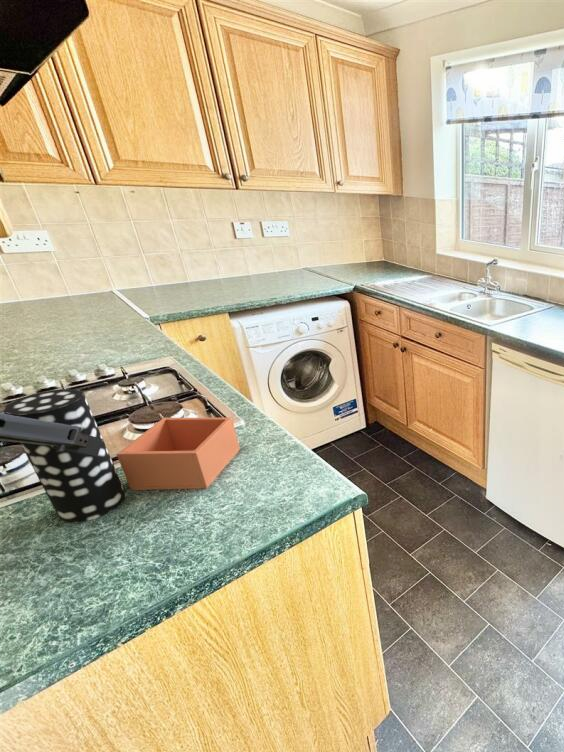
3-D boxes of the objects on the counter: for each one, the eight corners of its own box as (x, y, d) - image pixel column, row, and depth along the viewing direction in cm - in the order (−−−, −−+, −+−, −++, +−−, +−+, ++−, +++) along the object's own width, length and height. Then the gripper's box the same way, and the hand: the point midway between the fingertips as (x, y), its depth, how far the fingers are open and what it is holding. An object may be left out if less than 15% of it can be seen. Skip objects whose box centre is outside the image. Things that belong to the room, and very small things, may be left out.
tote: (131, 490, 75) (116, 454, 71) (174, 450, 86) (163, 417, 83) (207, 488, 76) (196, 453, 73) (240, 449, 87) (231, 417, 84)
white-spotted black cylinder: (60, 502, 71) (7, 397, 62) (125, 483, 76) (84, 384, 68) (57, 531, 65) (-1, 420, 57) (127, 508, 71) (83, 404, 62)
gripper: (-318, 444, 40) (-60, 475, 60) (-21, 442, 43) (131, 472, 63) (-271, 372, 43) (-38, 424, 62) (7, 374, 45) (145, 423, 65)
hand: (47, 448), depth 63 cm, fingers open, 13 cm apart
